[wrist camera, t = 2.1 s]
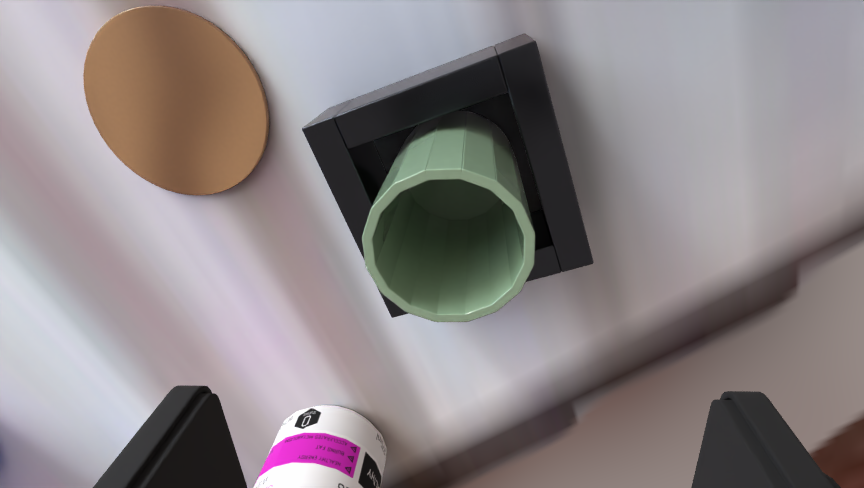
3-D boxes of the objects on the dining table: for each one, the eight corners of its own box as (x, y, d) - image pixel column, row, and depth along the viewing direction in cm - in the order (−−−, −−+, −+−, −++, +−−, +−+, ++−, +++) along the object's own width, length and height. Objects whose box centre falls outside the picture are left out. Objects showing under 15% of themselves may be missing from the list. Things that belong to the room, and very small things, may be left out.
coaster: (124, 195, 30) (119, 197, 29) (59, 11, 25) (53, 12, 25) (285, 190, 29) (282, 193, 28) (247, -1, 24) (243, -1, 24)
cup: (404, 222, 29) (372, 322, 20) (394, 112, 26) (352, 171, 17) (514, 220, 29) (532, 322, 20) (516, 107, 26) (538, 165, 17)
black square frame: (402, 275, 31) (391, 318, 27) (328, 108, 26) (301, 128, 22) (577, 225, 28) (594, 264, 24) (525, 32, 24) (535, 40, 20)
